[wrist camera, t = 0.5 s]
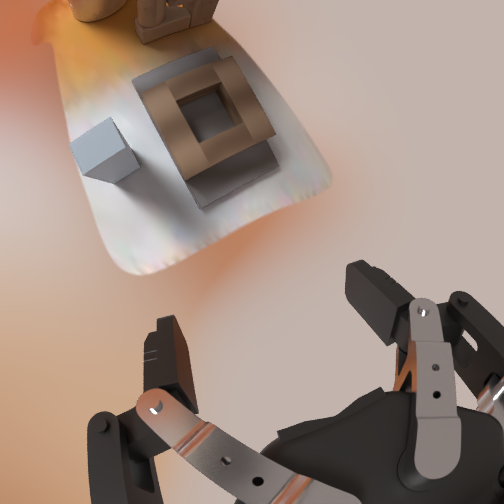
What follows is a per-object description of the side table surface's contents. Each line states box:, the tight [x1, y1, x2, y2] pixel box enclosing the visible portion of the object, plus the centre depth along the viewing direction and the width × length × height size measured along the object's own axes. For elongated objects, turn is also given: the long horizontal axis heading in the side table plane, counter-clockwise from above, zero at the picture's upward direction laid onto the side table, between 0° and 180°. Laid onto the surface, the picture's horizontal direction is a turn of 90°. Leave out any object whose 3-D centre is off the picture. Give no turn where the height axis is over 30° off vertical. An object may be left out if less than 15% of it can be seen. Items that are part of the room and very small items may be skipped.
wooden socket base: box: [132, 47, 279, 209], centre depth 30 cm, size 20×12×4 cm, turn 29°
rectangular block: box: [69, 117, 141, 184], centre depth 24 cm, size 3×4×14 cm
